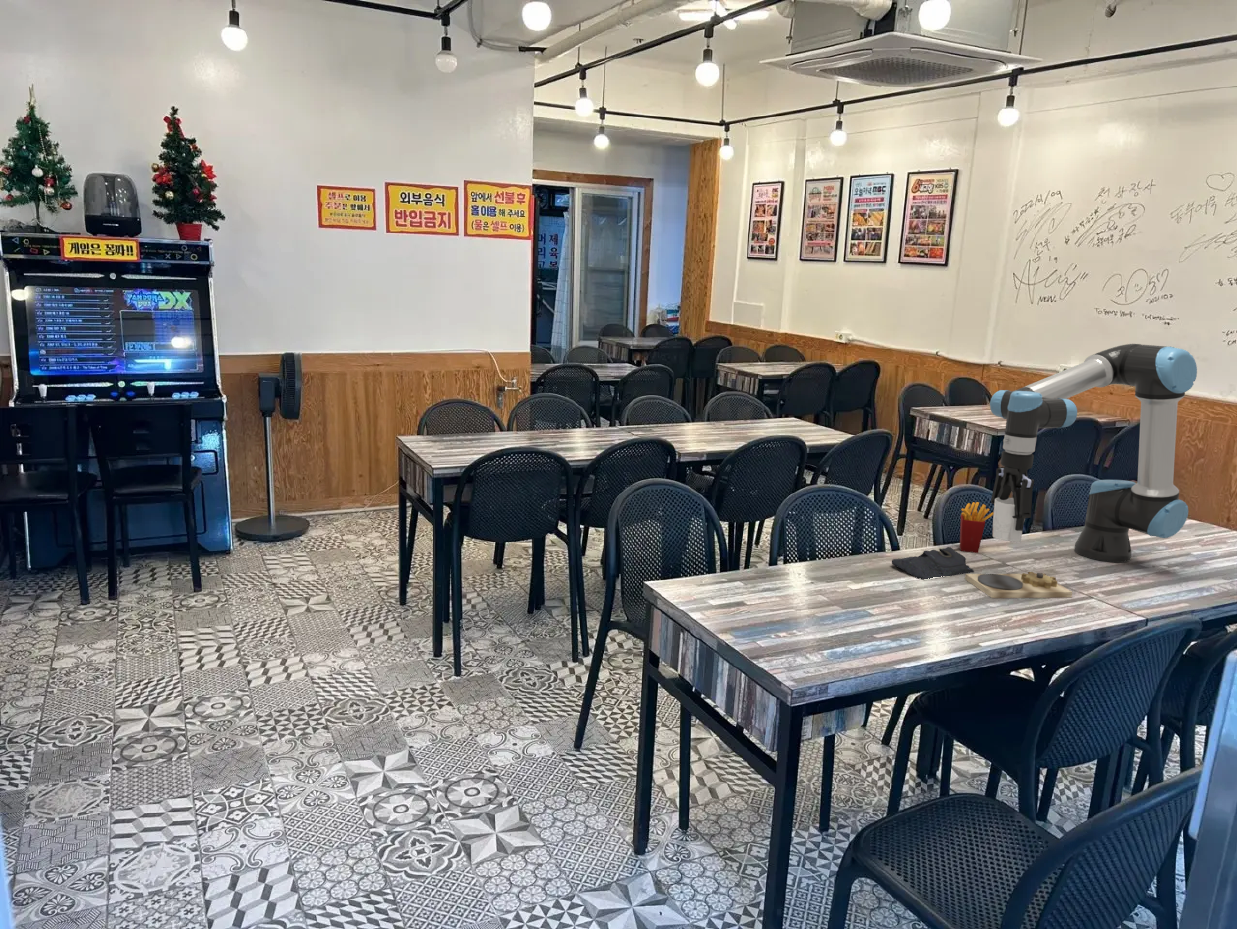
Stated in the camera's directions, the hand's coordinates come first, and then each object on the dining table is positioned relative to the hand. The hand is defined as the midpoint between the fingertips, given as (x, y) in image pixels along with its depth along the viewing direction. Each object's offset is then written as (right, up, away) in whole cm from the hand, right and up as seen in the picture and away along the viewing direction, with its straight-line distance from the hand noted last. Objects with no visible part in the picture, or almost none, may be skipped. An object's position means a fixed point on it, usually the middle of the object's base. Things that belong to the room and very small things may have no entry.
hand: (1006, 536), depth 228 cm
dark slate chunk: (-14, -11, +18) cm, 25 cm away
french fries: (+6, -7, +36) cm, 37 cm away
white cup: (0, 0, 0) cm, 0 cm away
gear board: (+4, -14, +4) cm, 15 cm away
